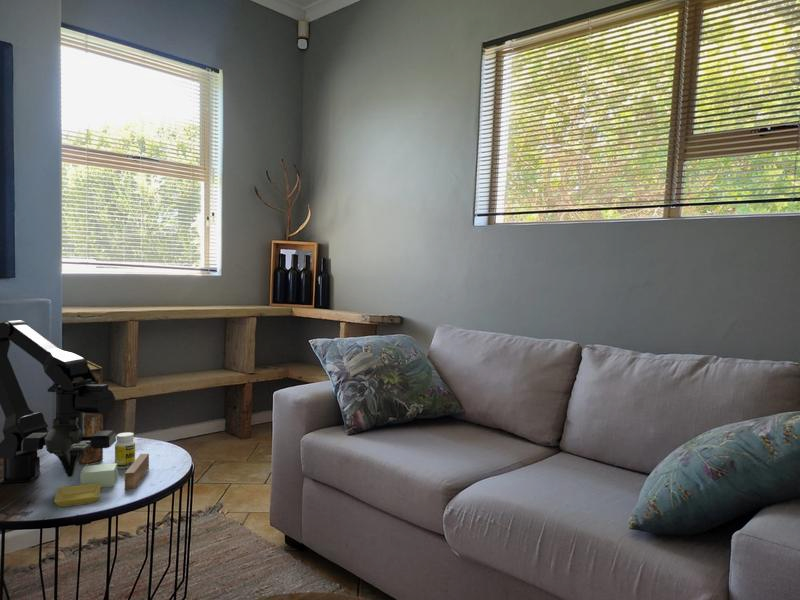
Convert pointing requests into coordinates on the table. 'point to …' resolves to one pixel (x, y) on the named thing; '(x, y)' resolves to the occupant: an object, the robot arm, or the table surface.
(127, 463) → the supplement bottle
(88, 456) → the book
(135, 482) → the board
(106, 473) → the block
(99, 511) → the table surface
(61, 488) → the yellow tray
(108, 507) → the table surface
